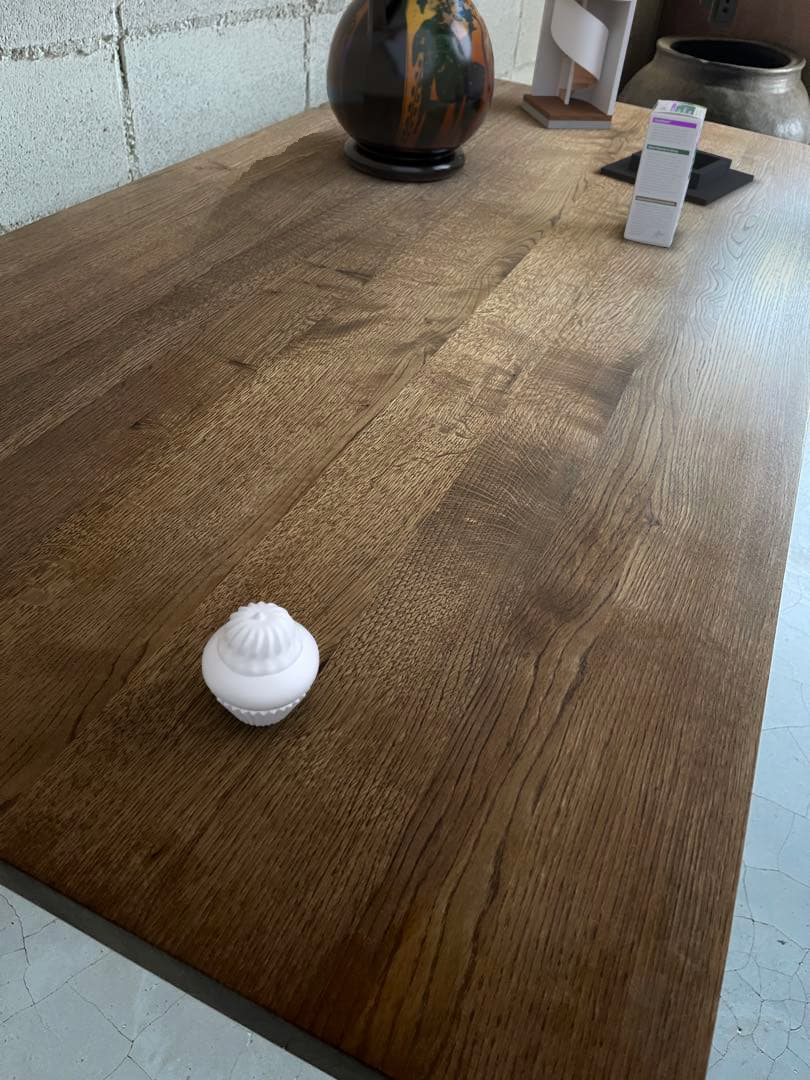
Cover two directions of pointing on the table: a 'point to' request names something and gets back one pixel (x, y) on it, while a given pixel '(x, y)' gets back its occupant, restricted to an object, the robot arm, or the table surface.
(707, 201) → the dock pad
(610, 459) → the table surface
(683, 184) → the syrup box
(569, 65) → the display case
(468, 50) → the amphora vase
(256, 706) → the muffin
